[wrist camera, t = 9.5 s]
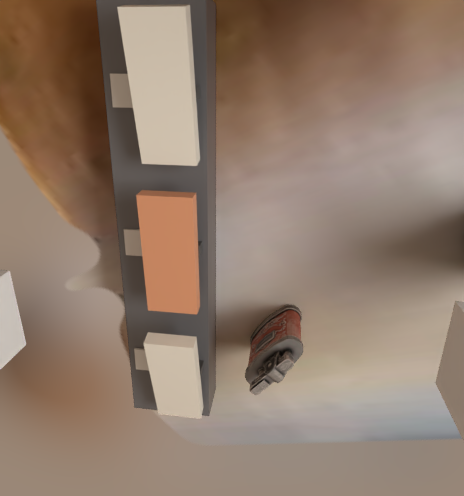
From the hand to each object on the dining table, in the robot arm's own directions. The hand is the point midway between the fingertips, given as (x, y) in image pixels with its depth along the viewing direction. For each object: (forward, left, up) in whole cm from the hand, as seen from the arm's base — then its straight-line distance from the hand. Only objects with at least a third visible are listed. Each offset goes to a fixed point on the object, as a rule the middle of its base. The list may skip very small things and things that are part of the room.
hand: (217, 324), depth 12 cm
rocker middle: (+9, -9, -27) cm, 30 cm away
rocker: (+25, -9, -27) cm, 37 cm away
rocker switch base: (+8, -11, -34) cm, 37 cm away
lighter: (+22, +2, -35) cm, 41 cm away
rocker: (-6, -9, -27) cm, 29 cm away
